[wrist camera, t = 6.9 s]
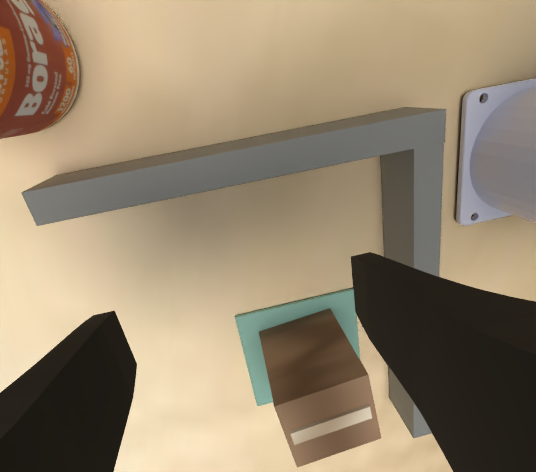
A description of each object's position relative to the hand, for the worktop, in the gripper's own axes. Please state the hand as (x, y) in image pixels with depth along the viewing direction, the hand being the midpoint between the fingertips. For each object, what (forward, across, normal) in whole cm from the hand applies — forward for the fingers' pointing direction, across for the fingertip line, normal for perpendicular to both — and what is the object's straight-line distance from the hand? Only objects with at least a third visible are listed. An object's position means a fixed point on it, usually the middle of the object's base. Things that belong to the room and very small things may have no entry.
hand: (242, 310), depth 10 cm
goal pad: (+10, -3, +11) cm, 15 cm away
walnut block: (+10, -3, +11) cm, 15 cm away
